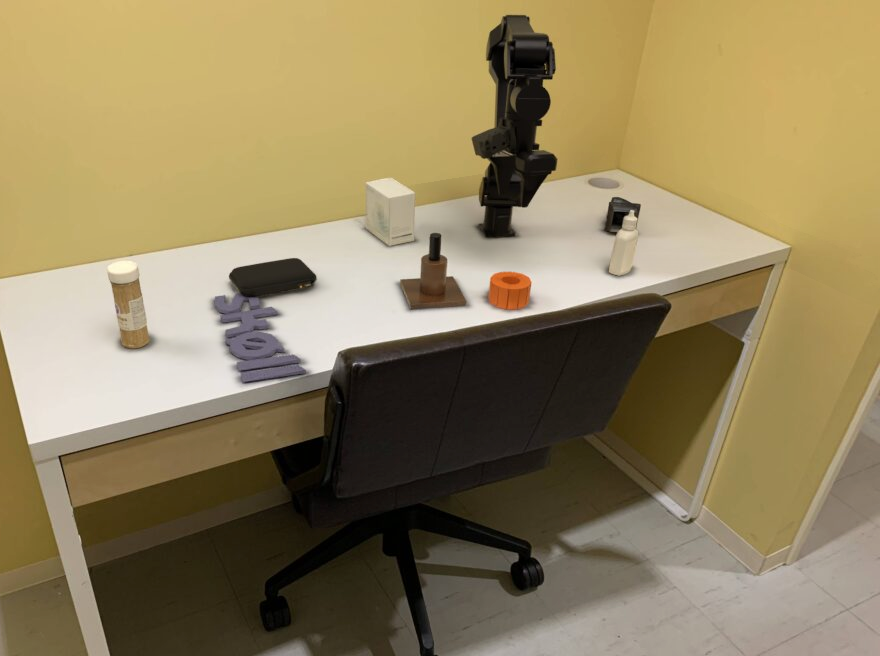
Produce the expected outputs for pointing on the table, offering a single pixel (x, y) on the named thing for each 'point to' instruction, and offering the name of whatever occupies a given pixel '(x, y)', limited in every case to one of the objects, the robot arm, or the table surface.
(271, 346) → the signage
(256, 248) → the table surface
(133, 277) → the sprinkles bottle
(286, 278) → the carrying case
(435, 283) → the stand
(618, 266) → the eye dropper bottle
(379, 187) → the cosmetics box
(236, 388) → the table surface
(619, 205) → the dark grey hollow box
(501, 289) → the ring
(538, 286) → the table surface
